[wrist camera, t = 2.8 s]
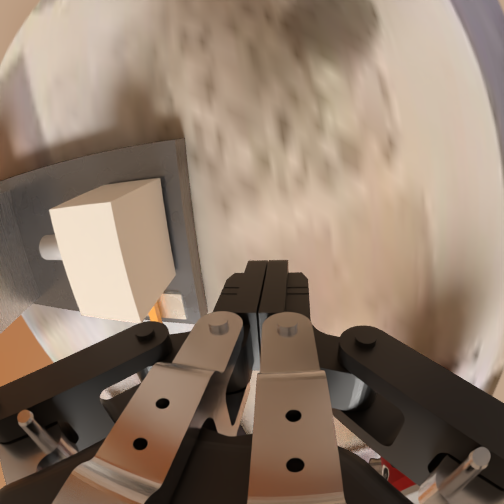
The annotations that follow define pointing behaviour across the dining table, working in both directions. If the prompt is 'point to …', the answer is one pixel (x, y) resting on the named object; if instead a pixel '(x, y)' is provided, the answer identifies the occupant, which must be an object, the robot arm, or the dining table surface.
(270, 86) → the dining table surface
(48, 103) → the dining table surface
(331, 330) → the dining table surface
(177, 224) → the gauge base
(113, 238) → the block
